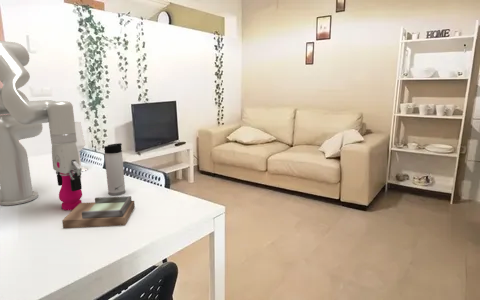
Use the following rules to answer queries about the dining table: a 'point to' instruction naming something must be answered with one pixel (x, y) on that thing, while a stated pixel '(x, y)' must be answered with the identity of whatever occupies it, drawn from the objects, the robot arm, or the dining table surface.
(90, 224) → the dock
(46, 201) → the dining table surface
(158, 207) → the dining table surface
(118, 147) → the travel mug
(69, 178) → the pepper mill
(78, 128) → the champagne flute
